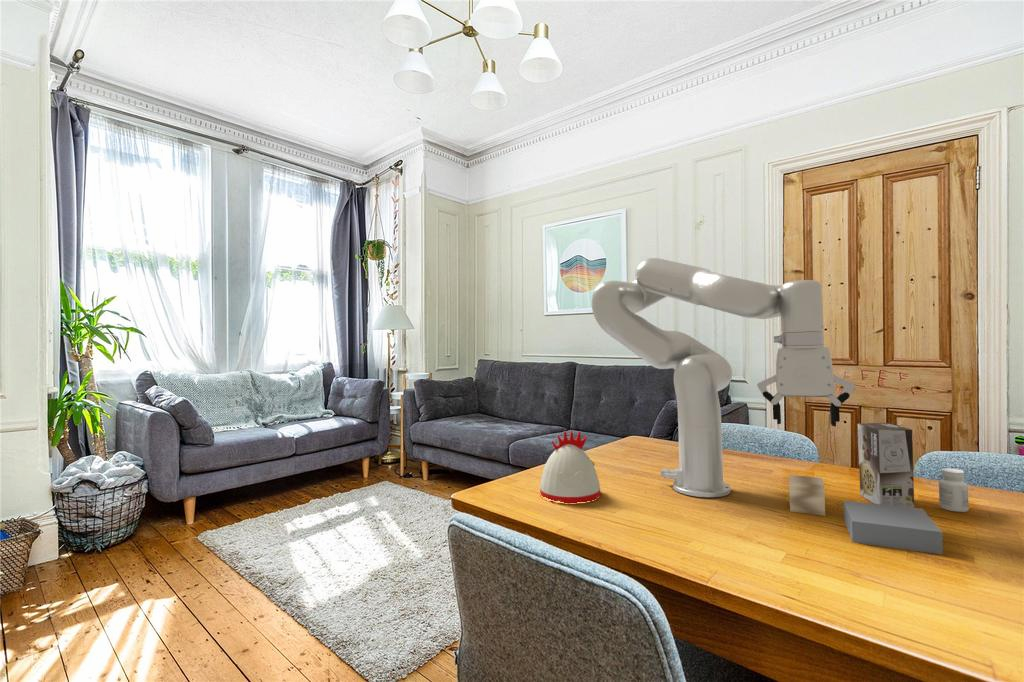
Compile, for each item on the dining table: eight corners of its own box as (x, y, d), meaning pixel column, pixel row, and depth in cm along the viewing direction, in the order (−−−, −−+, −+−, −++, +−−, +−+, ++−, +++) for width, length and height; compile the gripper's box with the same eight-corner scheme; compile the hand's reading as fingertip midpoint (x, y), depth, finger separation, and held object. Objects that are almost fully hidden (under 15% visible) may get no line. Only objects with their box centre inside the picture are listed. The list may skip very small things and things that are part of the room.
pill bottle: (963, 506, 101) (962, 468, 101) (972, 513, 97) (971, 474, 97) (936, 504, 103) (935, 466, 103) (943, 511, 99) (942, 472, 99)
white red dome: (604, 504, 109) (602, 435, 109) (541, 505, 109) (539, 436, 109) (595, 485, 123) (593, 424, 123) (539, 486, 123) (537, 426, 123)
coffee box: (916, 509, 100) (914, 429, 100) (880, 508, 101) (878, 429, 101) (891, 495, 109) (889, 422, 109) (858, 494, 110) (856, 421, 110)
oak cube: (790, 511, 101) (789, 482, 101) (789, 502, 106) (788, 474, 106) (825, 515, 98) (824, 485, 98) (822, 506, 103) (821, 477, 103)
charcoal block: (852, 544, 85) (852, 521, 85) (844, 521, 96) (843, 500, 96) (942, 557, 80) (942, 532, 80) (923, 530, 90) (922, 509, 90)
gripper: (755, 342, 103) (758, 425, 103) (855, 339, 95) (859, 429, 95) (756, 342, 110) (759, 419, 109) (850, 339, 101) (853, 423, 101)
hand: (805, 424), depth 102 cm, fingers open, 9 cm apart
